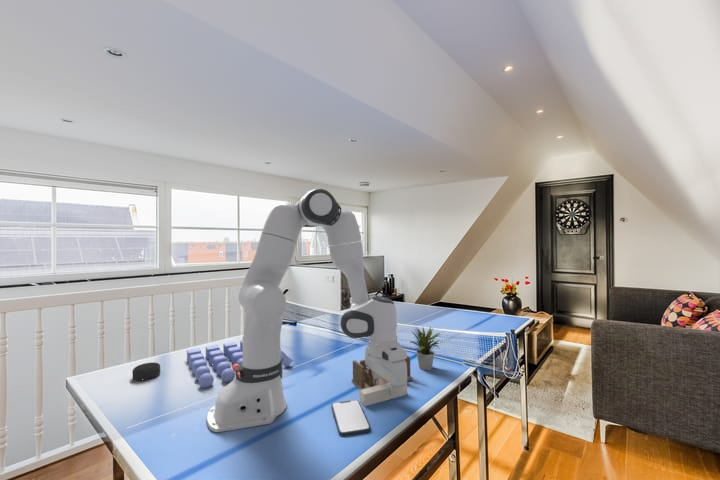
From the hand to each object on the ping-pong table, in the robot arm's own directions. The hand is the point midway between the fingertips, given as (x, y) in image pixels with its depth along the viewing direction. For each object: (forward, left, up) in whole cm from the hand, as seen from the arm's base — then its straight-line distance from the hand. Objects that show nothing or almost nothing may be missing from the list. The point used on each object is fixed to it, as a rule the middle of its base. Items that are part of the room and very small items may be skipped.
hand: (384, 389), depth 107 cm
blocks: (-38, +54, -3) cm, 66 cm away
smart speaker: (-71, +58, -3) cm, 91 cm away
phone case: (-16, -6, -3) cm, 17 cm away
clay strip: (-1, 0, -3) cm, 3 cm away
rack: (+5, +11, -2) cm, 12 cm away
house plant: (+26, +12, -3) cm, 29 cm away
